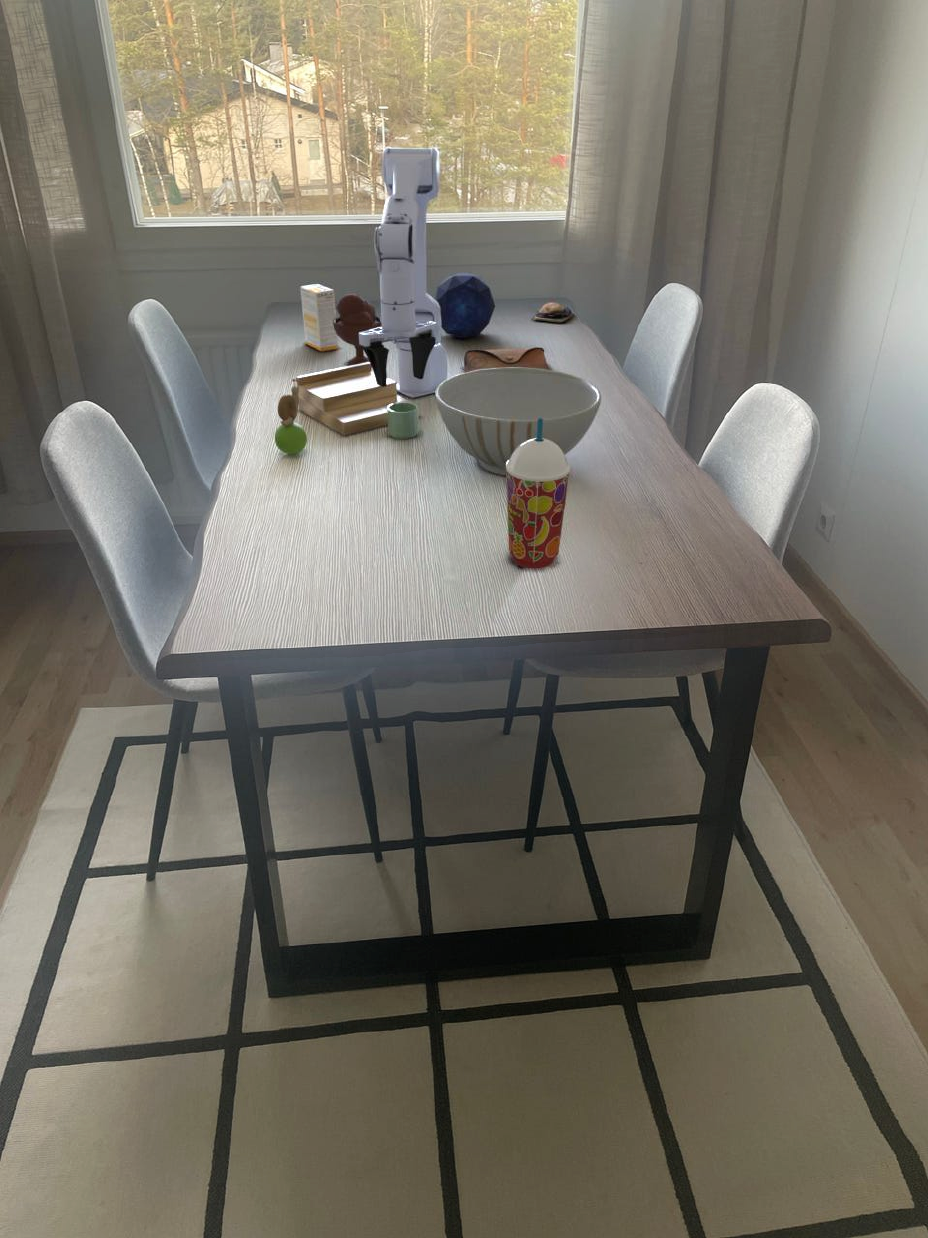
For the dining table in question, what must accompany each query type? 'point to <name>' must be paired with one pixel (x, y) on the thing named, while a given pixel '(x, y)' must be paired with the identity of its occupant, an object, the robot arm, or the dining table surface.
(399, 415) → the green cup
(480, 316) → the decorative orb
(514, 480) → the smoothie
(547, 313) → the sandwich
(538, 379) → the decorative bowl
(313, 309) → the supplement box
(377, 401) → the shelf
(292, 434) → the snail figurine
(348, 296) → the ice cream bowl
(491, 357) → the sunglasses case
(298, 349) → the dining table surface
